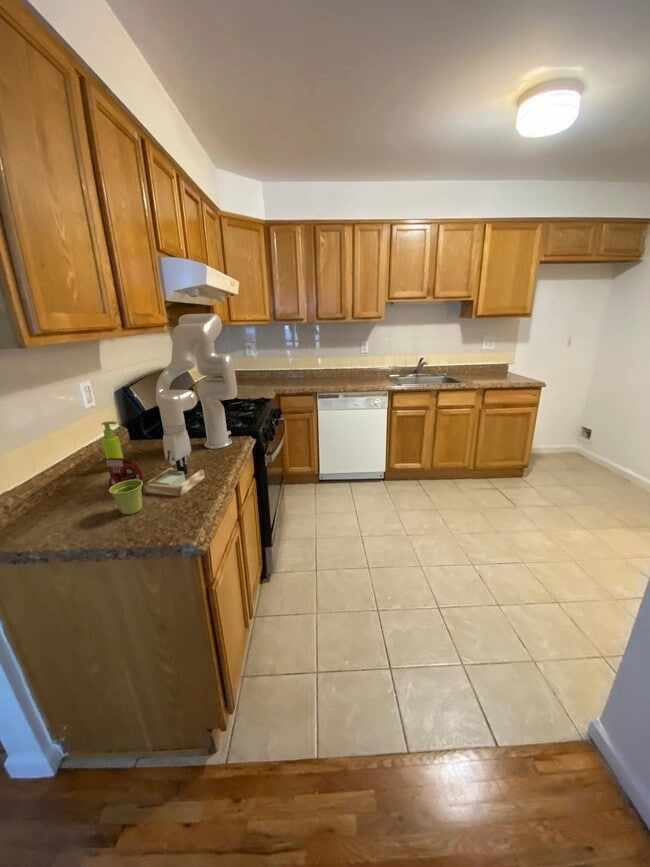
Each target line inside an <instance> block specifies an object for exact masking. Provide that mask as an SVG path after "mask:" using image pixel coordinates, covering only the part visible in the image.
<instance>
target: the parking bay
mask: <svg viewBox="0 0 650 867" xmlns="http://www.w3.org/2000/svg"><path fill="white" fill-rule="evenodd" d="M168 470H174V468H173V467H168V468H166V469H165V470H163V471H162V472H160V473H159V474H157V475H156V476H154V477H153V478H151V479H150V480H148V481H146V482H145V483H143V485H142V490H143V493H145V494H155V495H164V496H165V495H167V496H175V497H182V496H183V495H185V494H186V493H188V492H189V491H190V490H191V489H192V488H193V487H194V486H196V485H197V484H198V483H200V482H201V481H202V480H203V479H205V477H206V476H205V470H204V469H199V470H198V471H196V472H195V473H194V474H192V476H190V477H188V479H185V482H183V483H182V484H181V485H179V486H173V485H162V484H155V483H154V481H156V480H158V479H159V478H161V477H163V476H165V475H166V474H168V473H167V471H168Z"/></svg>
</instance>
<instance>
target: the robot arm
mask: <svg viewBox="0 0 650 867" xmlns="http://www.w3.org/2000/svg"><path fill="white" fill-rule="evenodd" d="M222 330H223V321H222V319H221V317H220V316H219V315H218V314H216V313H189V314H183V315H181V316H180V317H179V318H178V325H177V326H175V327H174V330H173V337H172V347H171V360H170V362H169V364H168V365H167V366H166V367H164V369H163V370H162V372H161V374H160V375H159V377H158V379H157V382H156V390H155V402H156V405H157V407H158V408H159V413H160V419H161V424H162V428H163V430H162V431H163V435H162V445H163V452H164V453H163V454H164V459H165V461H169V465H170V466H176V471H183V472H184V475H185V476H187V474H189V471H188V467H187V466H188V465H187V464H188V457H189V456H190V454H191V452H192V446H191V441H190V436H189V434H188V431H187V429H186V428H187V427H186V421H185V415H184V412H186V411H190V410H192V409H194V408H195V407H196V405H197V403H198V397H199V399H200V403H201V407H202V413H203V420H204V426H205V434H206V439H207V440H206V441H205V442H204V447H205V448H207V449H213V450H215V449H222V448H226V447H228V446H230V445H232V443H233V440H232V439H231V438H229V436H230V435H231V434H232V432H231V430H228V429H227V427H228V426H227V422H226V420H227V419H226V413H225V407H224V405H223V404H222V402H221V401H220V400H233V399H235V398H236V397H237V395H238V385H237V384H238V383H237V378H236V368H235V364H234V359H233V358H232V356H231V355H229V354H226V353H216V349H215V343H214V342H215V340H216V339H217V338H218V336H220V334H221V332H222ZM195 366H196V367H197V372H198V373H199V374H200V375H201V376H204V377H223V378H203V379H200V381H198V382H197V385H196V390H197V394H196V393H195V391H192V390H191V389H190V390H189V389H170V387H171V384H172V383H173V381H174V380H175V379H176V378H177V377H179V376H180V375H182V374H184V373H186V372H188V371H190V370H192V369H193V368H195ZM197 395H198V397H197Z"/></svg>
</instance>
